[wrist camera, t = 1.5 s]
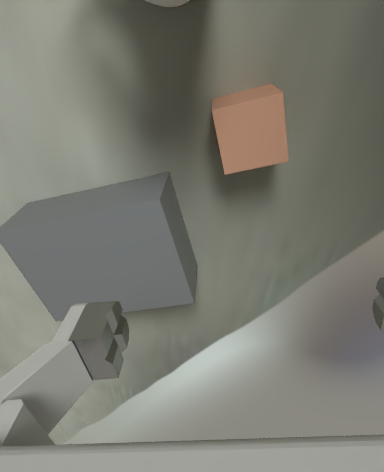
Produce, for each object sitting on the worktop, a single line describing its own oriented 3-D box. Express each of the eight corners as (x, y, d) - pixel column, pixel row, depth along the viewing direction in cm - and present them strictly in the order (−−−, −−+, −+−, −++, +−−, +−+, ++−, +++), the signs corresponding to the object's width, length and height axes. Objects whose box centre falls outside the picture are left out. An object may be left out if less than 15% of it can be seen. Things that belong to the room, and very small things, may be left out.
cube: (271, 83, 25) (283, 92, 21) (277, 142, 27) (288, 161, 23) (212, 98, 26) (211, 110, 22) (223, 154, 28) (224, 174, 24)
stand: (169, 172, 30) (159, 199, 24) (197, 266, 36) (194, 303, 31) (27, 203, 32) (-7, 232, 27) (76, 284, 39) (55, 321, 34)
